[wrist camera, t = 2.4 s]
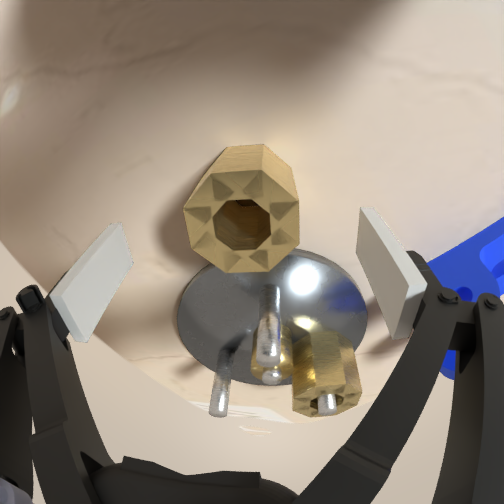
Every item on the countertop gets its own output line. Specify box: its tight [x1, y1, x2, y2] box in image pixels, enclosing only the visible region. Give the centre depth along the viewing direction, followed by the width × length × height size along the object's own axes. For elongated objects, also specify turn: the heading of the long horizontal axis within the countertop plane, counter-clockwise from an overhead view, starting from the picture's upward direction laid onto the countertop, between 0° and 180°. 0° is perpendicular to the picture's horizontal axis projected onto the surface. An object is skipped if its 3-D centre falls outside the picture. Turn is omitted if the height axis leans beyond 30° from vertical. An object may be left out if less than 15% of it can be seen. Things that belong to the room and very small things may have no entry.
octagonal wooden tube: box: [183, 144, 299, 273], centre depth 18 cm, size 6×6×6 cm
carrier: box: [177, 248, 367, 417], centre depth 25 cm, size 18×18×8 cm
